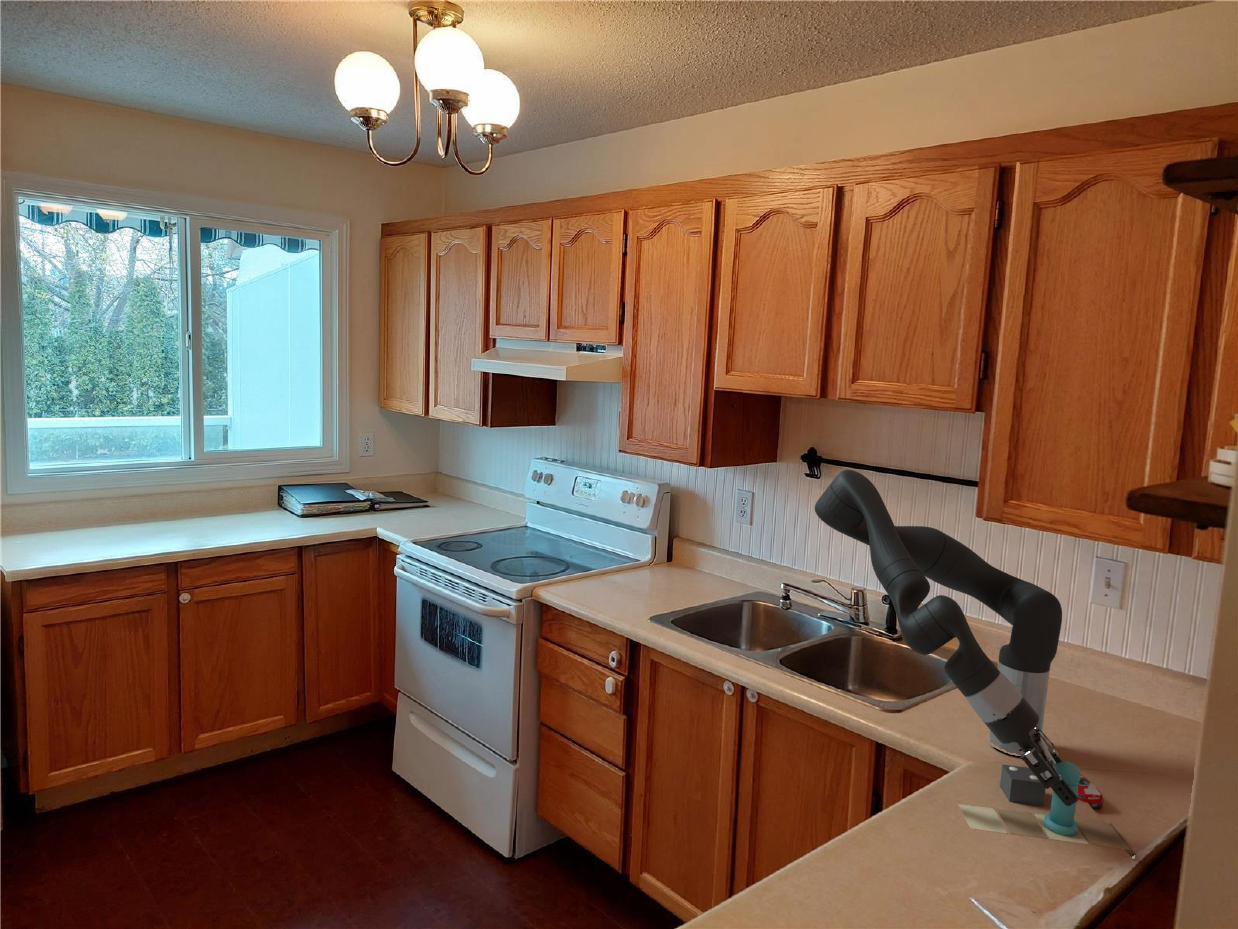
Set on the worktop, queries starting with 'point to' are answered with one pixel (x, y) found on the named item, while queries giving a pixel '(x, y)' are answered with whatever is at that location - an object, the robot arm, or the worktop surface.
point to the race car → (1087, 792)
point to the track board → (1029, 827)
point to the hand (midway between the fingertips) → (1070, 790)
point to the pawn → (1061, 814)
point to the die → (1021, 785)
